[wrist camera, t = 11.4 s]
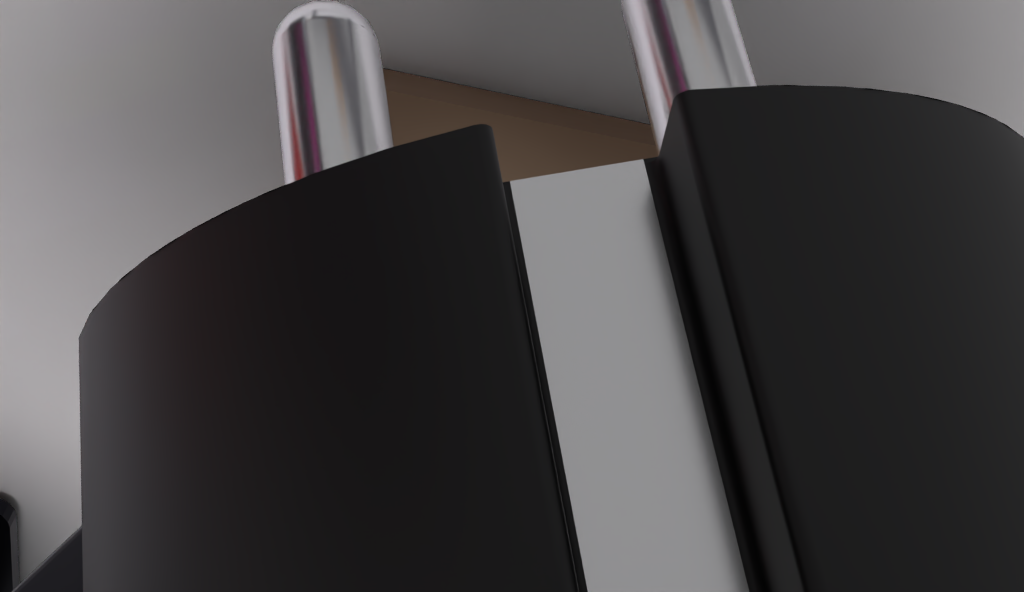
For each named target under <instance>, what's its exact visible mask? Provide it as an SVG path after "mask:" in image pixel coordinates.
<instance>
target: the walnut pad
mask: <svg viewBox="0 0 1024 592" xmlns="http://www.w3.org/2000/svg"><path fill="white" fill-rule="evenodd" d="M383 74H384V81H385V88H386V95H387V101H388V108H389V115H390V122H391V129H392V136H393V143H394V146H398V145H402V144H406V143H409V142H413V141H417V140H420V139H424V138H428V137H431V136H435V135H439V134H443V133H446V132H450V131H454V130H457V129H461V128H465V127H469V126H472V125H477V124H486V125H489V126H491V127H492V129H493V133H494V138H495V144H496V149H497V155H498V160H499V165H500V171H501V176H502V181H503V182H507V181H513V180H520V179H526V178H532V177H538V176H544V175H550V174H556V173H562V172H568V171H574V170H580V169H586V168H592V167H598V166H604V165H610V164H617V163H623V162H629V161H635V160H641V159H647V158H653V157H658V153H657V149H656V145H655V141H654V137H653V133H652V129H651V125H649V124H644V123H640V122H635V121H630V120H625V119H621V118H616V117H611V116H606V115H602V114H597V113H592V112H587V111H583V110H578V109H573V108H568V107H564V106H559V105H554V104H550V103H545V102H540V101H535V100H531V99H526V98H521V97H516V96H512V95H507V94H502V93H497V92H493V91H488V90H483V89H478V88H474V87H469V86H464V85H459V84H455V83H450V82H445V81H440V80H436V79H431V78H426V77H421V76H417V75H412V74H407V73H402V72H398V71H393V70H388V69H383Z"/></svg>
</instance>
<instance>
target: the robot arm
mask: <svg viewBox="0 0 1024 592" xmlns="http://www.w3.org/2000/svg"><path fill="white" fill-rule="evenodd" d="M0 592H83V556H82V526H81V527H80V528H79V529H78V530H77V531H76V532H74V533H73V534H72V535H71V536H70V537H69V538H68V539H67V540H66V541H65V542H64V543H63V544H62V545H61V546H60V547H58V548H57V549H56V550H55V551H54V552H53V553H52V554H51V555H50V556H49V557H48V558H47V559H46V560H45V561H44V562H42V563H41V564H40V565H39V566H38V567H37V568H36V569H35V570H34V571H33V572H32V573H31V574H30V575H29V576H28V577H27V578H25V579H24V580H23V581H22V582H21V583H20V584H19V561H18V539H17V517H16V512H15V509H14V508H13V507H12V506H11V505H10V504H9V503H8V502H6V501H4V500H2V499H0Z"/></svg>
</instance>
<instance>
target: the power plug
mask: <svg viewBox="0 0 1024 592" xmlns="http://www.w3.org/2000/svg"><path fill="white" fill-rule="evenodd" d="M622 14H623V18H624V22H625V26H626V30H627V34H628V38H629V42H630V46H631V50H632V54H633V58H634V62H635V66H636V69H637V73H638V77H639V81H640V85H641V89H642V93H643V97H644V101H645V105H646V109H647V113H648V117H649V121H650V125H651V129H652V133H653V137H654V141H655V145H656V149H657V153H658V157H653V158H647V159H641V160H635V161H629V162H623V163H617V164H610V165H604V166H598V167H592V168H586V169H580V170H574V171H568V172H562V173H556V174H550V175H544V176H538V177H532V178H526V179H520V180H513V181H507V182H503V181H502V176H501V171H500V165H499V160H498V155H497V149H496V144H495V138H494V133H493V129H492V127H491V126H489V125H486V124H477V125H472V126H469V127H465V128H461V129H457V130H454V131H450V132H446V133H443V134H439V135H435V136H431V137H428V138H424V139H420V140H417V141H413V142H409V143H406V144H402V145H398V146H394V143H393V136H392V129H391V122H390V115H389V108H388V101H387V95H386V88H385V81H384V74H383V67H382V60H381V53H380V47H379V42H378V40H377V37H376V34H375V32H374V29H373V28H372V26H371V24H370V22H369V21H368V20H367V19H366V18H364V17H363V16H362V15H361V14H360V13H359V12H357V11H356V10H355V9H354V8H352V7H351V6H350V5H347V4H344V3H341V2H338V1H335V0H314V1H311V2H308V3H305V4H302V5H299V6H296V7H295V8H294V9H293V10H292V11H291V12H290V13H288V14H287V15H286V16H285V17H284V19H283V20H282V21H281V23H280V24H279V25H278V26H277V29H276V32H275V35H274V38H273V46H272V59H273V69H274V79H275V89H276V99H277V109H278V119H279V129H280V139H281V149H282V159H283V169H284V179H285V185H284V186H281V187H279V188H276V189H274V190H271V191H269V192H266V193H264V194H262V195H260V196H258V197H256V198H253V199H251V200H249V201H246V202H244V203H242V204H240V205H238V206H236V207H234V208H232V209H230V210H228V211H225V212H223V213H222V214H220V215H218V216H216V217H214V218H212V219H210V220H208V221H206V222H205V223H203V224H201V225H199V226H197V227H195V228H193V229H192V230H190V231H188V232H186V233H185V234H183V235H182V236H180V237H178V238H177V239H175V240H173V241H172V242H170V243H168V244H167V245H165V246H164V247H162V248H161V249H159V250H158V251H156V252H155V253H153V254H152V255H150V256H149V257H148V258H146V259H145V260H143V261H142V262H141V263H140V264H139V265H138V266H136V267H135V268H134V269H133V270H131V271H130V272H129V273H127V274H126V275H125V276H124V277H122V278H121V279H120V280H119V282H118V283H116V284H115V285H114V286H113V287H112V288H111V289H110V290H109V291H108V292H107V294H106V295H105V296H104V297H103V299H102V300H101V301H100V302H99V303H98V304H97V306H96V307H95V308H94V309H93V310H92V312H91V313H90V315H89V317H88V319H87V321H86V323H85V326H84V328H83V330H82V332H81V334H80V336H79V376H80V436H81V496H82V556H83V592H1024V138H1023V137H1022V136H1021V135H1019V134H1018V133H1016V132H1015V131H1014V130H1012V129H1011V128H1010V127H1008V126H1007V125H1005V124H1003V123H1001V122H999V121H998V120H996V119H994V118H991V117H989V116H987V115H985V114H983V113H980V112H977V111H975V110H972V109H969V108H966V107H964V106H961V105H957V104H953V103H950V102H946V101H942V100H938V99H934V98H929V97H924V96H919V95H913V94H908V93H899V92H891V91H884V90H876V89H867V88H853V87H835V86H797V85H768V86H757V84H756V81H755V78H754V75H753V71H752V68H751V65H750V61H749V58H748V55H747V51H746V48H745V45H744V41H743V38H742V35H741V31H740V28H739V25H738V21H737V18H736V15H735V11H734V8H733V5H732V1H731V0H622Z"/></svg>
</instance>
